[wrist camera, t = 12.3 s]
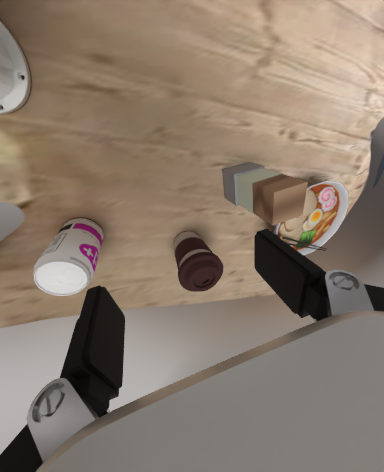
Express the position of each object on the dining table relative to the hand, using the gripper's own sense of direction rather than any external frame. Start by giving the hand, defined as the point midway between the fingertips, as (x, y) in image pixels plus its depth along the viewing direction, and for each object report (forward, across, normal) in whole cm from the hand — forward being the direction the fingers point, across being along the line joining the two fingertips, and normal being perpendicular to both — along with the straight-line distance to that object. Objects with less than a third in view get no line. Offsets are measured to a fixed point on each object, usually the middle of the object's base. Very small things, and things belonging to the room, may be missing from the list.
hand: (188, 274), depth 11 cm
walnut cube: (+20, -20, +7) cm, 29 cm away
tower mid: (+26, -20, +7) cm, 34 cm away
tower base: (+32, -20, +7) cm, 39 cm away
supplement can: (+32, +18, +9) cm, 38 cm away
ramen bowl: (+32, -38, +22) cm, 55 cm away
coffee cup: (+32, -4, +20) cm, 38 cm away
